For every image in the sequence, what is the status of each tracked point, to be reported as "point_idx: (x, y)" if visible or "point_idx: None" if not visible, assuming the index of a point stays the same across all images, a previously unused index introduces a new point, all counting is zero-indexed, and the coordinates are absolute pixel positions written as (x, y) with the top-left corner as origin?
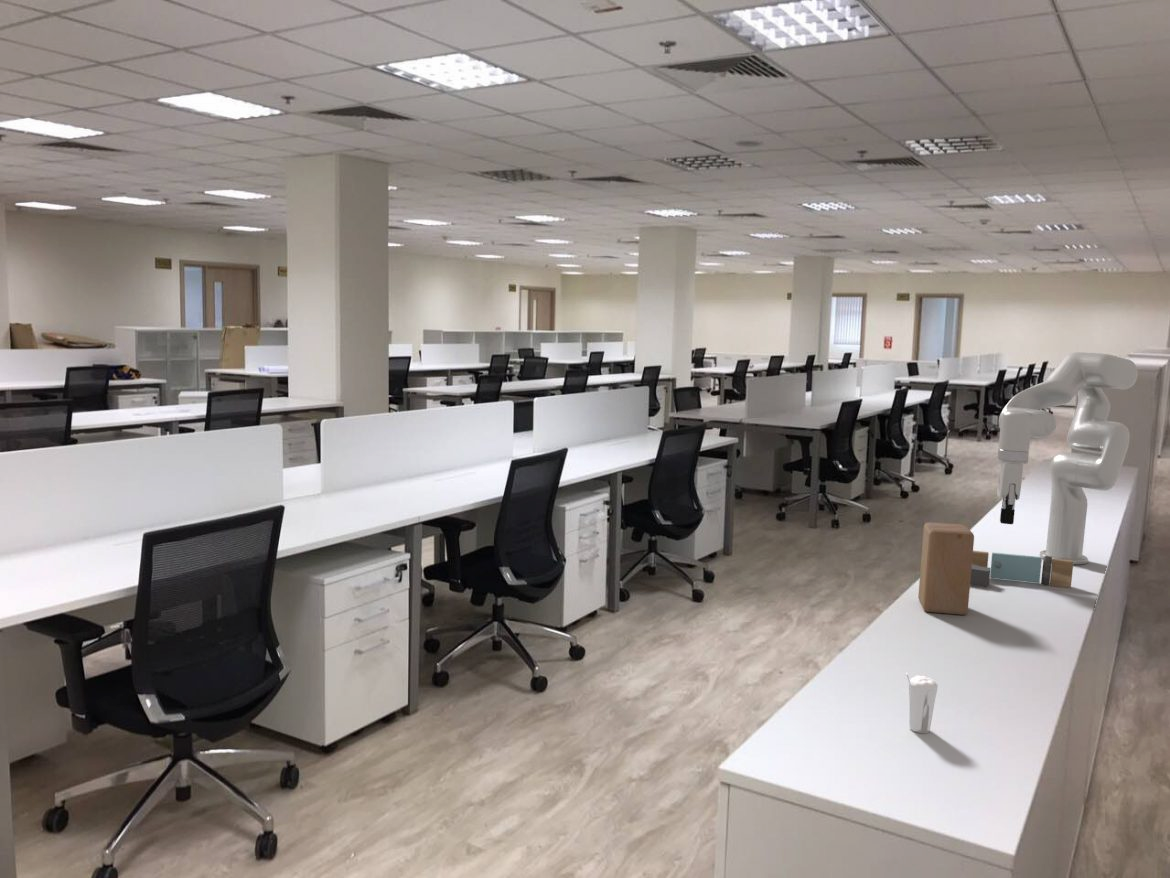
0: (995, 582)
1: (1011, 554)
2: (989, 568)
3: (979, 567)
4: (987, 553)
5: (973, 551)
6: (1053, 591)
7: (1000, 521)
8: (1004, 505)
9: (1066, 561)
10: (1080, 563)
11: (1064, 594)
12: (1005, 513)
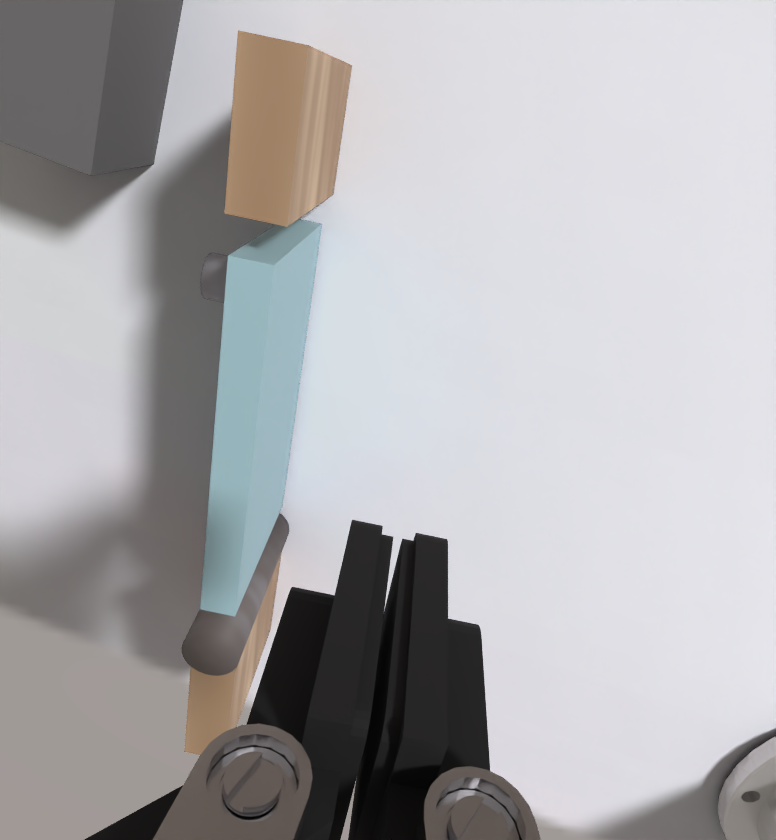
0: (209, 227)
1: (244, 425)
2: (62, 158)
3: (57, 62)
4: (226, 202)
5: (263, 50)
6: (129, 517)
7: (360, 528)
8: (169, 831)
9: (188, 721)
10: (722, 828)
11: (92, 549)
12: (262, 686)
